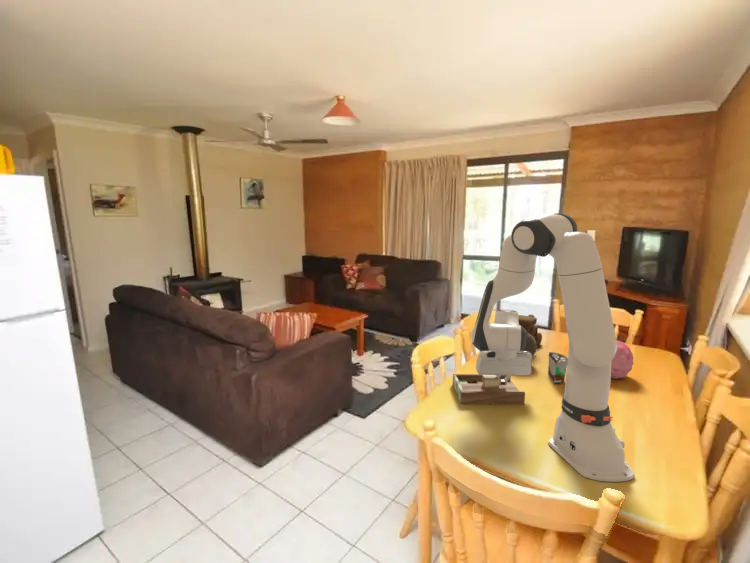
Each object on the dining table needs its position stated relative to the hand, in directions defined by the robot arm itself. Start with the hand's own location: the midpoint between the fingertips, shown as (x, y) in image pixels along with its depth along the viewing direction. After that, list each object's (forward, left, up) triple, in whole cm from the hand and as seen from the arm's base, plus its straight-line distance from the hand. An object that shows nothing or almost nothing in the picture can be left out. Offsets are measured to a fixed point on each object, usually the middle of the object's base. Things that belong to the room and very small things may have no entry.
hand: (502, 384), depth 140 cm
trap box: (0, +5, -4) cm, 7 cm away
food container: (+13, -28, -4) cm, 31 cm away
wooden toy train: (+54, -30, -4) cm, 62 cm away
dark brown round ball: (+31, -18, -4) cm, 36 cm away
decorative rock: (+18, -53, -4) cm, 56 cm away
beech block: (0, +4, -1) cm, 5 cm away
